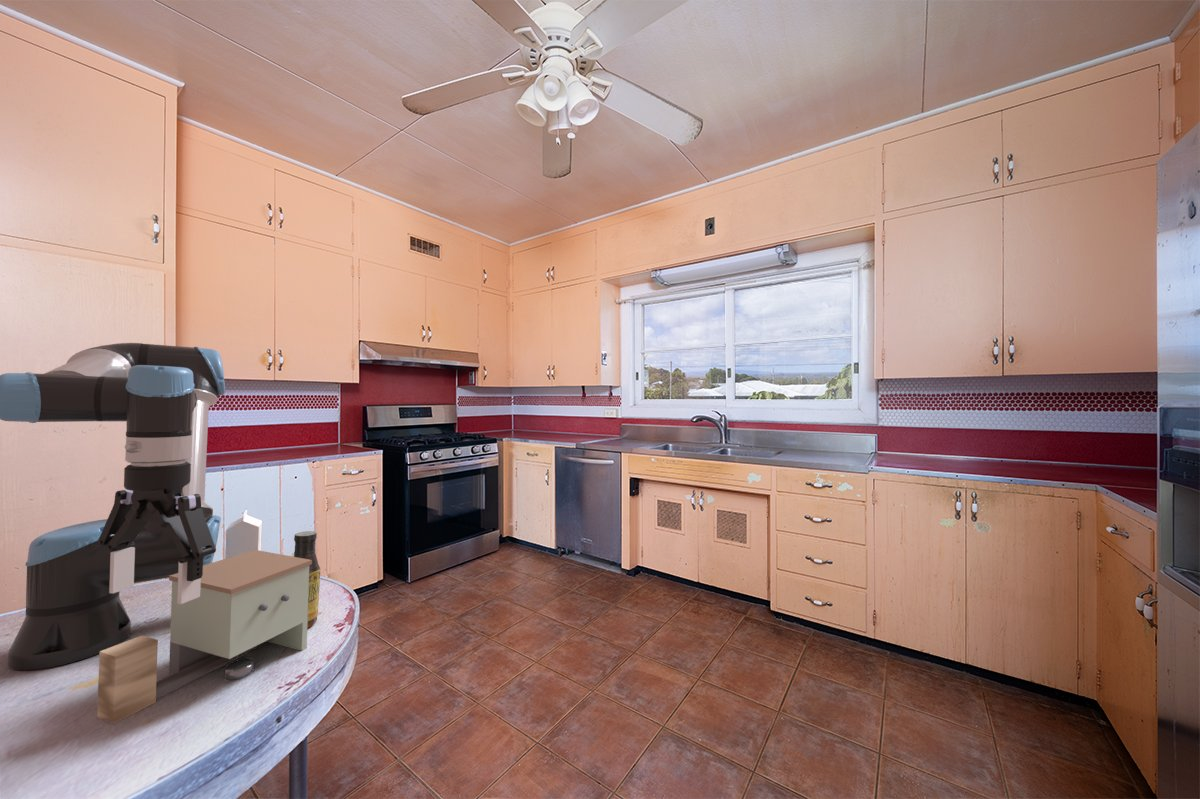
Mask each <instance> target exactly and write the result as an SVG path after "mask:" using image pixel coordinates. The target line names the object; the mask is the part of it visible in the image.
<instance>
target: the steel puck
mask: <svg viewBox="0 0 1200 799" xmlns="http://www.w3.org/2000/svg"><path fill="white" fill-rule="evenodd" d="M254 666H255V660H254V659H253V658H251V657H246V658H241V659H235V660H233V661H231V662H229V663H227V664H226V666H225V667H224V680H225V681H226V682H236V681H239V680H242V679H243V680H244V679H245V678H247V677H249V676H250V675H251V674H253V673H254V671H255V670H254V669H255V668H254Z"/></svg>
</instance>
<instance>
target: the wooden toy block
mask: <svg viewBox="0 0 1200 799" xmlns="http://www.w3.org/2000/svg"><path fill="white" fill-rule="evenodd" d="M158 641H159V639H156V638H152V637H149V636H145V635H143V634H142V635H139V636H137V637H134V638H131V639H129V640H126V641H123V642H121V643H120V644H118V645H115V646H113V647H110V648H107V649H105V650H102V651H100V652H99V657H98V658H99V659H98V685H97V686H98V687H97V713H96V715H97V716H96V717H97V718H98V719H101V720H103V721H106V722H108V723H110V724H116V723H118V722H120V721H121V720H124V719H126V718H127V717H130V716H132V715H133V714H136V713H137V712H139V711H141V710H143V709H145V708H147V707H149V706H151V705H153V704H155V703H156V701H157V699H160V698H162V697H164V696H165V695H168V694H170V693H171V692H173V691H176V690H178V689H180V688H181V687H184V686H185V685H187V684H189V683H191V682H193V681H195V680H197V679H199V678H201V677H203V676H205V675H207V674H209V673H211V672H214V671H215V670H217V669H219V668H221V667H222V666H225V665H228V664H230V663H232V662H234V661H236V660H238V659H239V658H241V657H243V656H245V655H247V654H249V653H250V652H253V651H255V650H256V649H257V646H255V647H253V648H251V649H249V650H247V651H245V652H243V653H241V654H239V655H237V656H235V657H233V658H231V659H227V658H224V657H221V656H217V655H212V656H210V657H208V658H206V659H204V660H201V661H199V662H197V663H195V664H193V665H191V666H189V667H187V668H185V669H183V670H180V671H178V672H176V673H174V674H170V675H168V676H166V677H164V678H162V679H160V680H158V681H157V677H158V676H157V675H158V674H157V673H158V671H157V670H158V649H159V648H158V646H159V642H158Z"/></svg>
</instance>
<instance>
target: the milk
mask: <svg viewBox="0 0 1200 799" xmlns="http://www.w3.org/2000/svg"><path fill="white" fill-rule="evenodd" d="M262 527H263V521H262V519H258V518H256V517H254V516H250V515H248V509H245V511H244V512H243V513H242V517H241V518H239V519H236V520H235V521H233V522H230V524H229V526H228V527H227V529H226V530H225V548H224V549H225V551H224V552H225V554H224V559H227V558H230V557H233V556H237V555H240V554H243V553H247V552H250V551H253V550H259V551H262V535H263V534H262V532H263V531H262V530H263V528H262Z"/></svg>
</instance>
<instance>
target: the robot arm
mask: <svg viewBox="0 0 1200 799" xmlns="http://www.w3.org/2000/svg"><path fill="white" fill-rule="evenodd" d="M224 373H225V372H224V366H223V362H222V356H221V354H220V353H219V352H218V351H217V350H216V349H211V348H204V347H203V348H202V347H198V346H194V347H193V346H179V345H178V346H177V345H166V344H165V345H164V344H154V343H143V342H141V343H139V342H124V343H123V342H121V343H120V342H119V343H113V344H112V343H111V344H105V345H98V346H94V347H93V346H92V347H89V348H86V349H84V350H81V351H79V352H76V353H75V354H73V355H72V356H70V357H69V359H68V360H67V361H66V363H65V364H63V365H61V366H57V367H56V368H54V369H51V370H49V371H47V372H44V373H33V372H30V371H28V372H22V373H21V372H19V373H18V372H7V373H6V372H5V373H2V374H0V420H1V421H3V422H4V421H5V422H16V423H17V422H18V423H19V422H21V423H24V422H25V423H30V424H31V423H32V424H37V423H51V422H52V423H55V422H57V423H63V422H66V423H67V422H70V423H71V422H73V423H74V422H75V423H76V422H126V432H125V445H124V450H125V455H124V456H125V457H124V461H125V462H127V463H129V464H127V465H126V466H125V467H124V469H123V470H124V471H123V472H124V474H123V488H124V489H123V490H122V489H121V490H117V491H115V495H114V501H113V502H114V503H113V506H112V508H111V510H110V513H109V515H108V517H107V518H106V519H97V520H92V521H86V522H82V523H77V524H72V525H69V526H65V527H61V528H57V529H54V530H50V531H48V532H45V533H43V534H41V535H39V536H37V537H36V538H34V539H33V540H32V541H31V542H30V544H29V547H28V553H27V561H26V562H25V567H26V589H25V590H26V591H25V595H26V596H25V617H24V620H23V622H22V624H21V625H20V628H19V629H18V632H17V634H16V636H15V638H14V640H13V642H12V644H11V647H10V648H9V650H8V655H7V656H8V658H7V666H8V667H9V668H10V669H12V670H17V671H33V670H42V669H47V668H48V669H49V668H54V667H58V666H59V667H60V666H63V665H68V664H71V663H75V662H79V661H81V660H85V659H88V658H90V657H93V656H95V655H96V656H97V655H98V654H99V652H100V651H102V650H105V649H107V648H110V647H113V646H115V645H118V644H120V643H123V642H125V640H127V639H128V638H129V637H130V635H131V634H132V633H131V631H132V621H131V619H130V617H129V615H128V613H127V610H126V608H125V606H124V604H123V602H122V600H121V598H120V592H121V591H125V590H127V589H130V588H134V586H135V584H139V583H140V584H141V583H146V582H151V581H157V580H158V581H159V580H162V579H169V576H170V575H173V574H177V573H178V599H177V604H183V603H185V602H188V601H190V600H193V599H195V598H198V597H200V587H201V578H202V575H203V565H207V564H210V563H213V560H214V557H215V554H216V552H217V548H216V547H217V544H218V543H217V542H218V538H219V533H220V532H219V531H220V528H221V527H220V526H221V520H222V518H221V516H219V515H216V514H215V515H214V509H213V507H212V506H210V505H209V504H208V503H206V502H205V500H206V498H205V496H206V474H207V472H206V471H207V452H208V450H207V448H208V429H209V428H208V427H209V412H210V410H209V409H210V407H211V406H214V405H215V404H216V403H217V402H218V397H220V396H224V395H225V394H226V383H225V374H224Z"/></svg>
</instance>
